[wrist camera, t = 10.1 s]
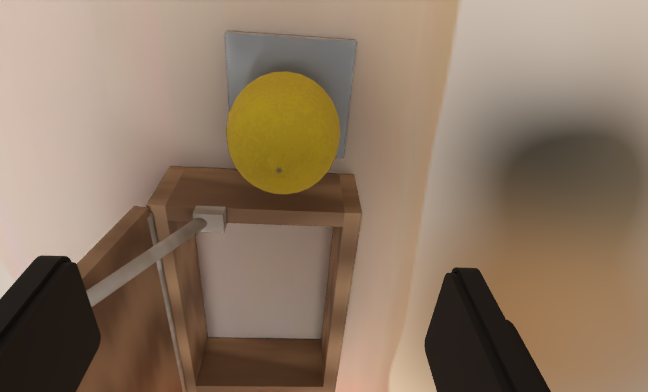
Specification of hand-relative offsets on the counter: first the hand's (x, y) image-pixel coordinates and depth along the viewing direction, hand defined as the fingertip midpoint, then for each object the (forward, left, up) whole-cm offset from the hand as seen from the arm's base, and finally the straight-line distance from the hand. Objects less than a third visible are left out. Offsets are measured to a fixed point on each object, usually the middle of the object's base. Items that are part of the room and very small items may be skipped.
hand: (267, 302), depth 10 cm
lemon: (0, 0, -15) cm, 15 cm away
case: (-14, +3, -16) cm, 21 cm away
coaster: (0, 0, -16) cm, 16 cm away
